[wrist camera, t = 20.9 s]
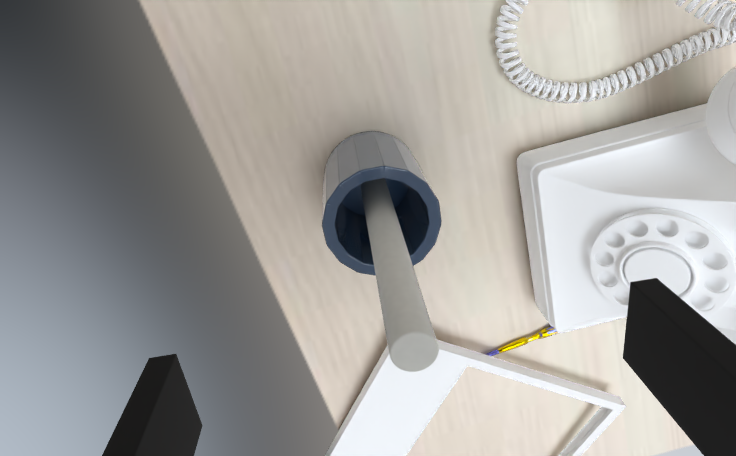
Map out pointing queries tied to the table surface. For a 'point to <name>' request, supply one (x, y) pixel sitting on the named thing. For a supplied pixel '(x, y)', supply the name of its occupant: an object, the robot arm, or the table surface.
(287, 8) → the table surface
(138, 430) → the robot arm
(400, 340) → the stylus
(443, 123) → the table surface
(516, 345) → the pen
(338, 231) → the holder
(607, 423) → the photo frame
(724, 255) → the telephone
